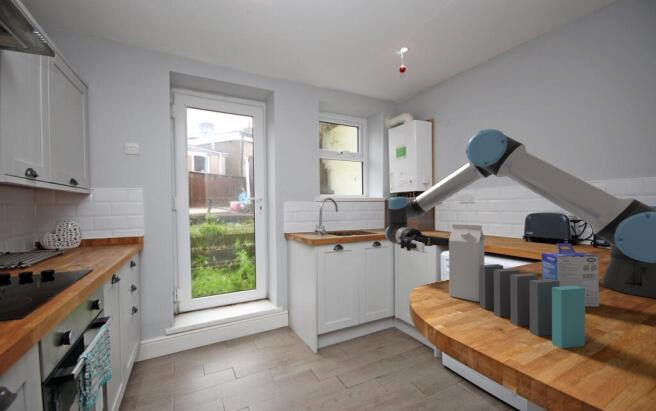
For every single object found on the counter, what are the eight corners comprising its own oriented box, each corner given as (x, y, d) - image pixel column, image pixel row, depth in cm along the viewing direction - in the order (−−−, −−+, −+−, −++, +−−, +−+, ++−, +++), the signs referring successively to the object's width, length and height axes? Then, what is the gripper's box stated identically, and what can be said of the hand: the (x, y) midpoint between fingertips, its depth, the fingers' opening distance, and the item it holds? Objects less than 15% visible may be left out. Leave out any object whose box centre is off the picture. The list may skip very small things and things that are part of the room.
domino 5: (552, 343, 48) (551, 287, 48) (574, 340, 49) (574, 285, 49) (561, 348, 46) (561, 290, 46) (584, 345, 47) (584, 288, 47)
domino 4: (529, 332, 52) (529, 280, 52) (551, 329, 53) (551, 278, 53) (537, 336, 50) (537, 282, 50) (559, 333, 51) (559, 280, 51)
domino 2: (494, 314, 60) (493, 269, 60) (513, 312, 61) (512, 268, 61) (499, 317, 59) (499, 271, 59) (519, 315, 60) (519, 270, 60)
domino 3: (510, 322, 56) (510, 274, 56) (530, 320, 57) (530, 273, 57) (517, 326, 55) (517, 276, 54) (538, 323, 56) (537, 275, 55)
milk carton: (456, 289, 77) (455, 223, 77) (484, 295, 73) (484, 224, 73) (449, 296, 72) (448, 225, 72) (479, 302, 67) (478, 226, 67)
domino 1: (479, 307, 65) (479, 265, 64) (497, 305, 66) (497, 264, 65) (485, 309, 63) (484, 266, 63) (503, 307, 64) (503, 265, 64)
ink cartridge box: (579, 299, 69) (579, 242, 69) (601, 307, 64) (600, 246, 64) (540, 299, 69) (540, 242, 69) (558, 307, 64) (558, 246, 64)
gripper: (439, 246, 105) (479, 257, 85) (378, 249, 101) (405, 261, 80) (439, 227, 105) (479, 233, 84) (378, 228, 100) (405, 236, 80)
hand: (443, 247), depth 82 cm, fingers open, 13 cm apart
